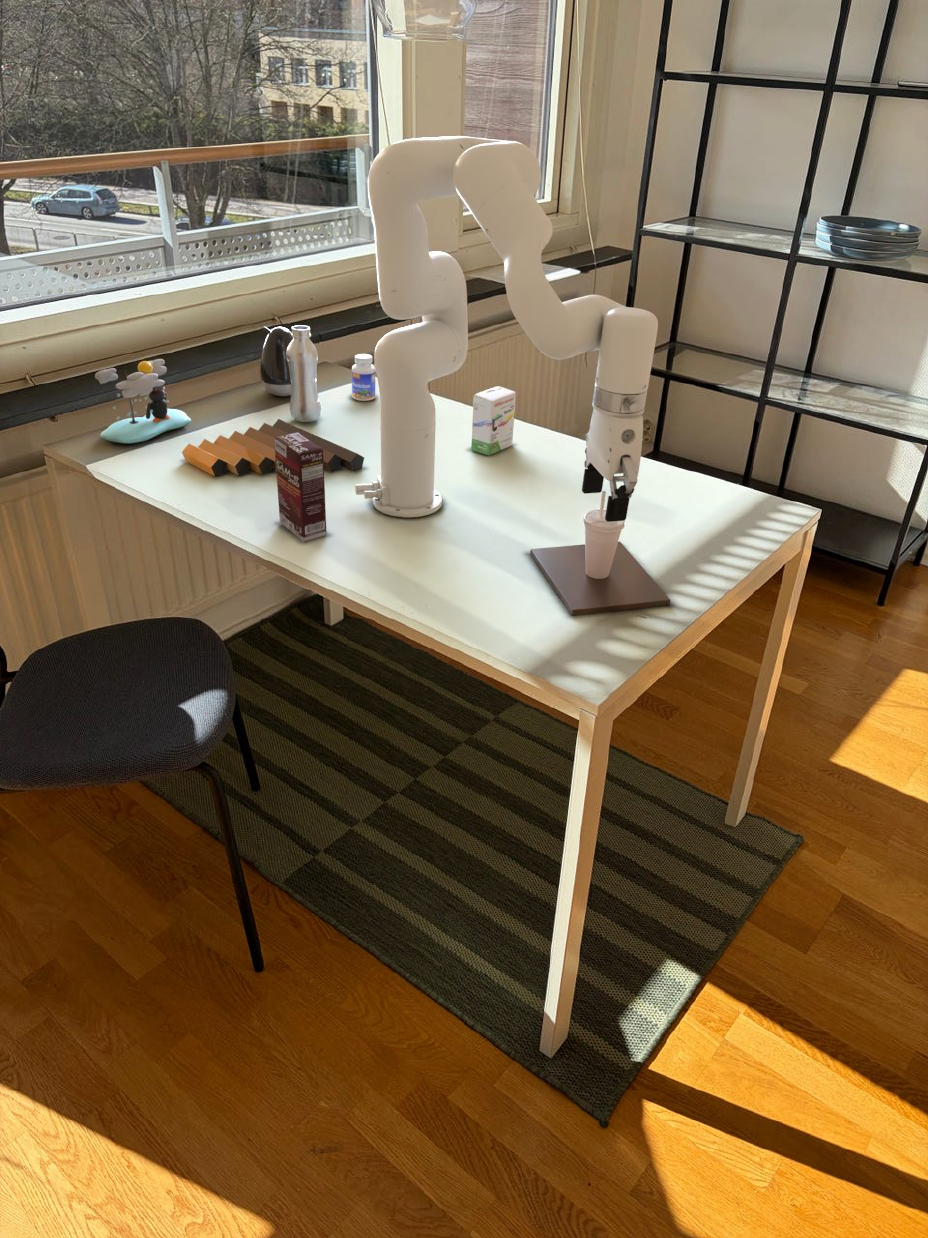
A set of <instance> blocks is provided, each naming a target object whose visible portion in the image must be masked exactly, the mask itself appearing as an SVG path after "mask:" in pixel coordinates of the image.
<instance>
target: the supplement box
mask: <svg viewBox="0 0 928 1238" xmlns="http://www.w3.org/2000/svg"><path fill="white" fill-rule="evenodd" d="M274 445H275V459H276V469H275V471H276V473H275V474H276V483H277V484H276V485H277V486H276V487H277V488H276V489H277V500H278V502H277V503H278V516H279V524H280V525H282V526H283V527H284V528H286V529H287V530H289V531H290V532H291V533H293V535H295V536H296V537H297V538H298V539H300V540H301V541H302V542H303V543H304V542H307V541H311V540H315V539H318V538H322V537H325V536H327V533H328V532H327V515H326V514H327V513H326V512H327V511H326V489H325V487H326V486H325V485H326V484H325V469H324V458H323V449H322V448H321V447H318V446H317V445H315V444H314V443H312V442H311V441H309V440H308V439H306V438H305V437H303V436H302V435H300V434H299V433H298V432H296V433H291V434H286V435H282V436H278V437H275V438H274Z"/></svg>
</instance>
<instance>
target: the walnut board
mask: <svg viewBox="0 0 928 1238" xmlns="http://www.w3.org/2000/svg"><path fill="white" fill-rule="evenodd" d="M529 555H530V556H531V558H532V559H533V561H534V562H535V564H536V565H537V567H538V568H539V569H540V571H541V573H542V574H543V575H544V577H545V578H546V580H547V582H548V583H549V584H550V586H551V587H552V589H553V590H554V592H555V593H556V595H557V597H558V598H559V600H560V601H561V602H562V603H563V605H564V606H565V608H566V609H567V611H568V612H569V614H570V615H571V616H581V615H591V614H598V613H610V612H618V611H627V610H628V611H629V610H638V609H647V608H656V607H657V608H658V607H665V606H667V607H668V606H670V605H671V598H670V597H669V596H668V595H667V594H666V593H665V592H664V591H663V590H662V588H661V587H660V586H659V585H658V584H657V583H656V581H655V580H654V578H652V577H651V576H650V574H649V573H648V572H647V571H646V570H645V569H644V567H642V565H641V563H640V562H639V561H637V559H636V558H635V557H634V556H633V555H632V554H631V552H630V551H629V550H628V549H627V548H626V546H625V545H624V544H623V543H622V542H621V541H619V540H618V544H617V547H616V551H615V554H614V558H613V562H612V565H611V569H610V573H609V576H608V577H606V578H603V579H596V578H592V577H589V576H588V575H587V574H586V558H585V544H575V545H572V544H571V545H563V546H562V545H561V546H551V547H550V546H549V547H542V548H541V547H540V548H531V549H530V554H529Z"/></svg>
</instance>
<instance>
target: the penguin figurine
mask: <svg viewBox="0 0 928 1238" xmlns="http://www.w3.org/2000/svg"><path fill="white" fill-rule="evenodd" d="M165 364H166V362H165V360H164V359H163V358H157V359H153V360H148V361H147V360H143V361H140V362H139V363H138V365H137V371H136V372H132V373H131V374H130V371H128V372H127V371H124V373H125V376H126V379H125V380H121V381H119V382H117V383H116V384H115V388H116V389H117V390H122V391H121V393H116V397H117V398H118V399H119V398H120V397H121V395H122V397H123V399H129V400H128V401H129V406H130V411H129V412H128V413H127V414H125V415H126V416H127V418H125V419H121V418H120V416H117V417H115V418H116V420H118V421H115V422H113V423H111V425H109V426H108V427H107V428H106V429H104V430H103V431H101V433H100V434H99V436H100V439H103V440H106V441H108V442H113V443H117V444H137V443H140V442H141V443H143V442H146V441H148V440H152V439H153V438H155V437H157V436H160V435H161V434H164V433H165V432H169V431H172V430H177V429H181V428H183V427H185V426H187V425H189V424H190V423H191V422H192V421H193V420H192V419H191V418H190V417H189V416H188V415H187V413H185V412H184V411H183V410H180V409H177V408H175V409H174V408H168V404H169V400H168V399H167V397H168V393H167V392H166V391H165V390H166V387H165V386H164V385H165V384H166V381H165V380H163V379H162V378H159V376H163V375H165V374H166V373H167V369H168V368H167V367H166V366H165ZM124 369H125V370H127V369H126V367H125V368H124ZM94 378H95V380H98V382H99V384H100V385H103V384H106V383H109V382H114V381H116V380H118V378H119V376H118V374H117V369H116V368H114V367H111V368H107V369H101V370H99V371H97V372H95V375H94ZM137 396H139V397H143V396H144V397H143V398H144V399H143V400H147V399H150V400H151V402H148V403H147V405H146V406H145V409H146V412H145V414H144V415H143V416H138V417H135V415H136V414H137V410H134V405H136V403H137V401H139V402H140V403H142V402H143V400H142V398H135V397H137ZM132 398H134V401H133V400H132ZM112 408H113V409H112V410H116V409H117V407H116V405H113V406H112Z"/></svg>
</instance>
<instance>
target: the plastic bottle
mask: <svg viewBox="0 0 928 1238" xmlns="http://www.w3.org/2000/svg"><path fill="white" fill-rule="evenodd" d="M291 334H292V337H293V340H292V341H291V343H290V344H289V346H288V348H287V351H286V356H287V361H288V366H289V371H290V378H291V396H290V401H289V413H290V417H292V419H293V420H295V421H297V422H302V423H309V422H310V423H311V422H315V421H317V420H319V418H320V416H321V411H322V407H321V402H320V399H319V392H318V391H319V390H318V384H317V368H318V358H319V357H318V355H319V354H318V350H317V348H316V346H315V344H314V343H313V342H312V340H311V339H310V338H311V337H312V334H311V327H310V326H308V325H294V326H291Z"/></svg>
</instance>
